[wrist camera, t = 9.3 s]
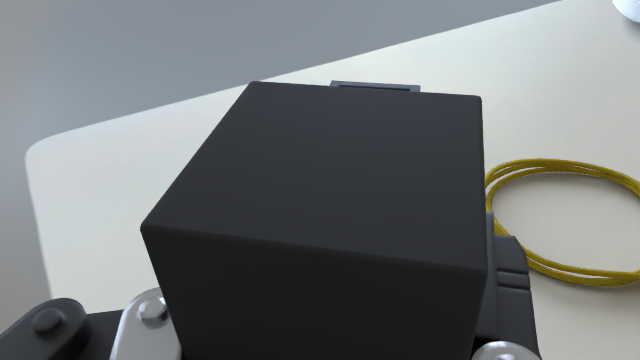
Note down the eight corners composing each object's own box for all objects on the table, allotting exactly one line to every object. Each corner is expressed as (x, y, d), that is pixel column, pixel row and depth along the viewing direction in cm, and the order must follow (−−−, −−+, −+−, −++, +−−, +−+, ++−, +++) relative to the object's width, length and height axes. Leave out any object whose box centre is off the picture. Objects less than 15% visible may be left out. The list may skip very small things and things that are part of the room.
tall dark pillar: (239, 520, 13) (136, 226, 7) (289, 362, 16) (250, 79, 10) (423, 568, 12) (490, 274, 6) (434, 389, 15) (482, 93, 9)
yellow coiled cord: (692, 388, 22) (710, 362, 21) (438, 208, 33) (441, 184, 32) (807, 267, 28) (827, 240, 26) (555, 145, 38) (561, 122, 37)
